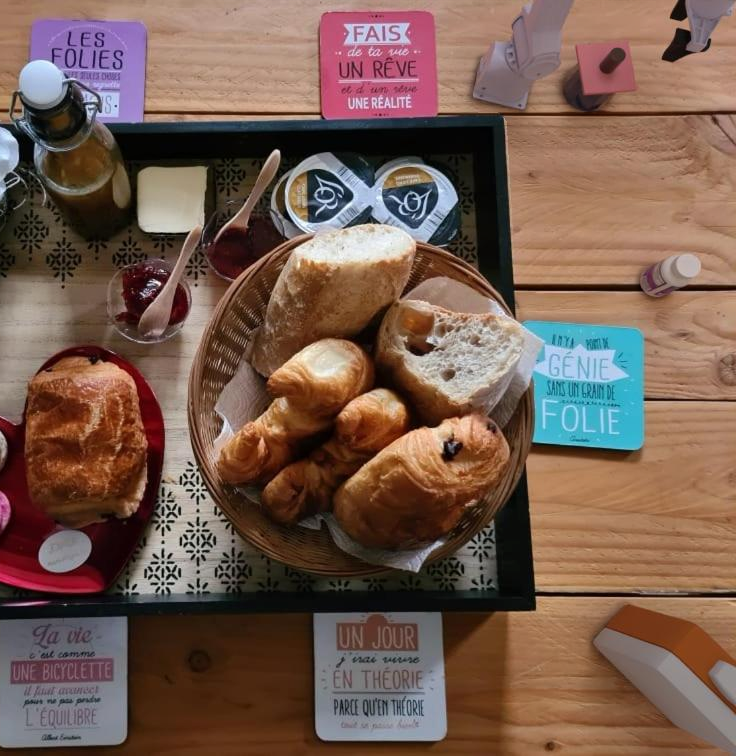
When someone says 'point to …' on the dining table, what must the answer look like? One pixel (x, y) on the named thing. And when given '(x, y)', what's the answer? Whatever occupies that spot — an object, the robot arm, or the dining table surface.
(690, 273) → the pill bottle
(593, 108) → the dark faceted cylinder
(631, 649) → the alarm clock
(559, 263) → the dining table surface
